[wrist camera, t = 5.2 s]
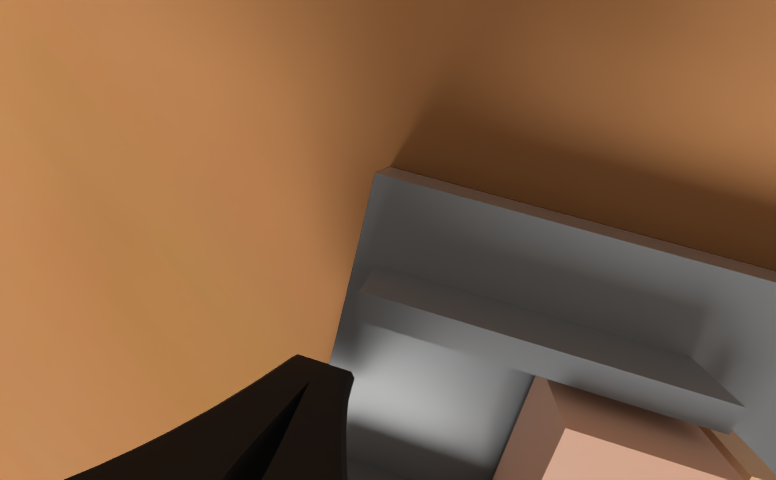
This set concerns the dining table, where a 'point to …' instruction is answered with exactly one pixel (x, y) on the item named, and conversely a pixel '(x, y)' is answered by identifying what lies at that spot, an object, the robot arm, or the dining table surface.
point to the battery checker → (538, 331)
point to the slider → (604, 441)
